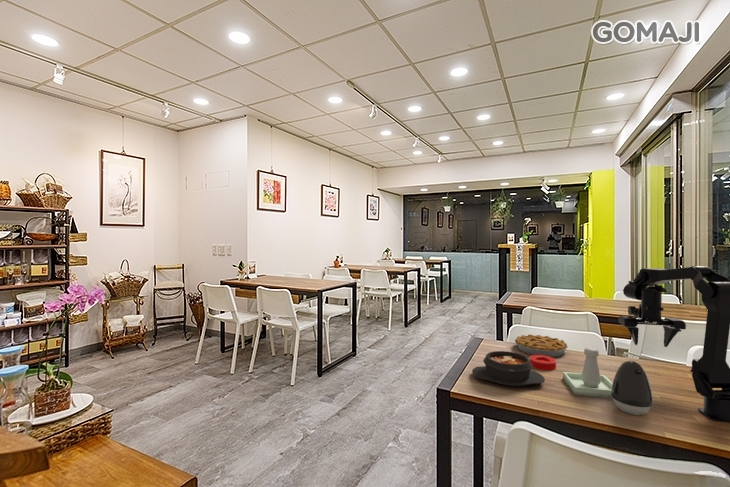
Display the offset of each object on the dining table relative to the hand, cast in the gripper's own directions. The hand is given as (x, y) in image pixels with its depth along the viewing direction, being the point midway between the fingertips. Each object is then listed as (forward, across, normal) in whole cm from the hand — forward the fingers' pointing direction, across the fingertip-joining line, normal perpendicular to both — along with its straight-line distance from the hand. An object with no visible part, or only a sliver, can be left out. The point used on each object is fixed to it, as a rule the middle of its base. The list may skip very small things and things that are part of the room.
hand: (650, 345), depth 129 cm
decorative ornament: (+14, +34, -8) cm, 37 cm away
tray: (+13, +23, +11) cm, 29 cm away
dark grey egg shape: (+13, +17, +26) cm, 34 cm away
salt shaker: (+12, +23, +11) cm, 28 cm away
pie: (+14, +30, -30) cm, 44 cm away
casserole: (+13, +50, +10) cm, 53 cm away
